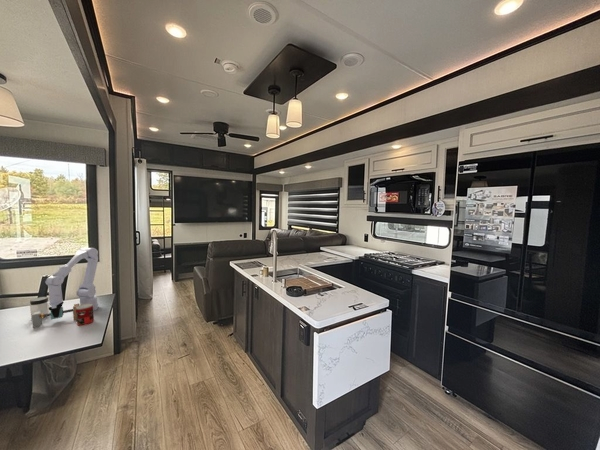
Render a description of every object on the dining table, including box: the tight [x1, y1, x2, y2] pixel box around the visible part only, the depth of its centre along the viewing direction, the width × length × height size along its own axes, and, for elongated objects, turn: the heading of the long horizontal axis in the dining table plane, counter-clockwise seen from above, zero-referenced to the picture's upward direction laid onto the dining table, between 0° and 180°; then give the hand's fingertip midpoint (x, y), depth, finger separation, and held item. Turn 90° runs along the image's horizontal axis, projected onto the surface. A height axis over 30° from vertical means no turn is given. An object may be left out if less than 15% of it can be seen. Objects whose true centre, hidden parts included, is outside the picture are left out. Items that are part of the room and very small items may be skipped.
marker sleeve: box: [49, 306, 65, 320], centre depth 155 cm, size 5×5×5 cm
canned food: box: [76, 304, 95, 327], centre depth 153 cm, size 8×8×11 cm
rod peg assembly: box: [31, 302, 80, 329], centre depth 155 cm, size 21×8×8 cm, turn 127°
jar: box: [29, 296, 51, 320], centre depth 162 cm, size 9×8×12 cm
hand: (57, 315), depth 155 cm, fingers closed on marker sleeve, 5 cm apart
